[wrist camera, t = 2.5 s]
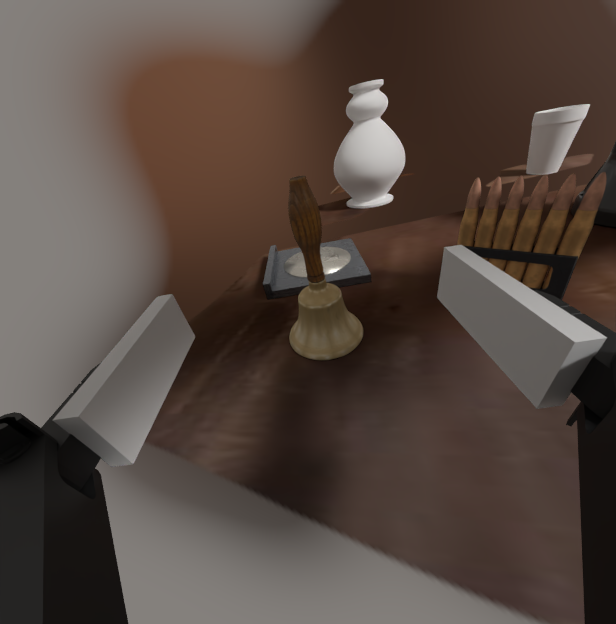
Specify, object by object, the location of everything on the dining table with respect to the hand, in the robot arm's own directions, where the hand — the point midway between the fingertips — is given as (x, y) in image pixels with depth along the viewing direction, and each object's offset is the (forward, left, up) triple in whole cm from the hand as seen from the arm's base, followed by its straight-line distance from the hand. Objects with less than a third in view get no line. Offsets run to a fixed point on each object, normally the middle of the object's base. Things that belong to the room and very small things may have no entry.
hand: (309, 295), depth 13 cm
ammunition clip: (-22, -14, -12) cm, 29 cm away
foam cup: (-63, -61, -12) cm, 88 cm away
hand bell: (-1, -11, -12) cm, 17 cm away
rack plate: (-1, -28, -12) cm, 31 cm away
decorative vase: (-19, -64, -12) cm, 68 cm away
